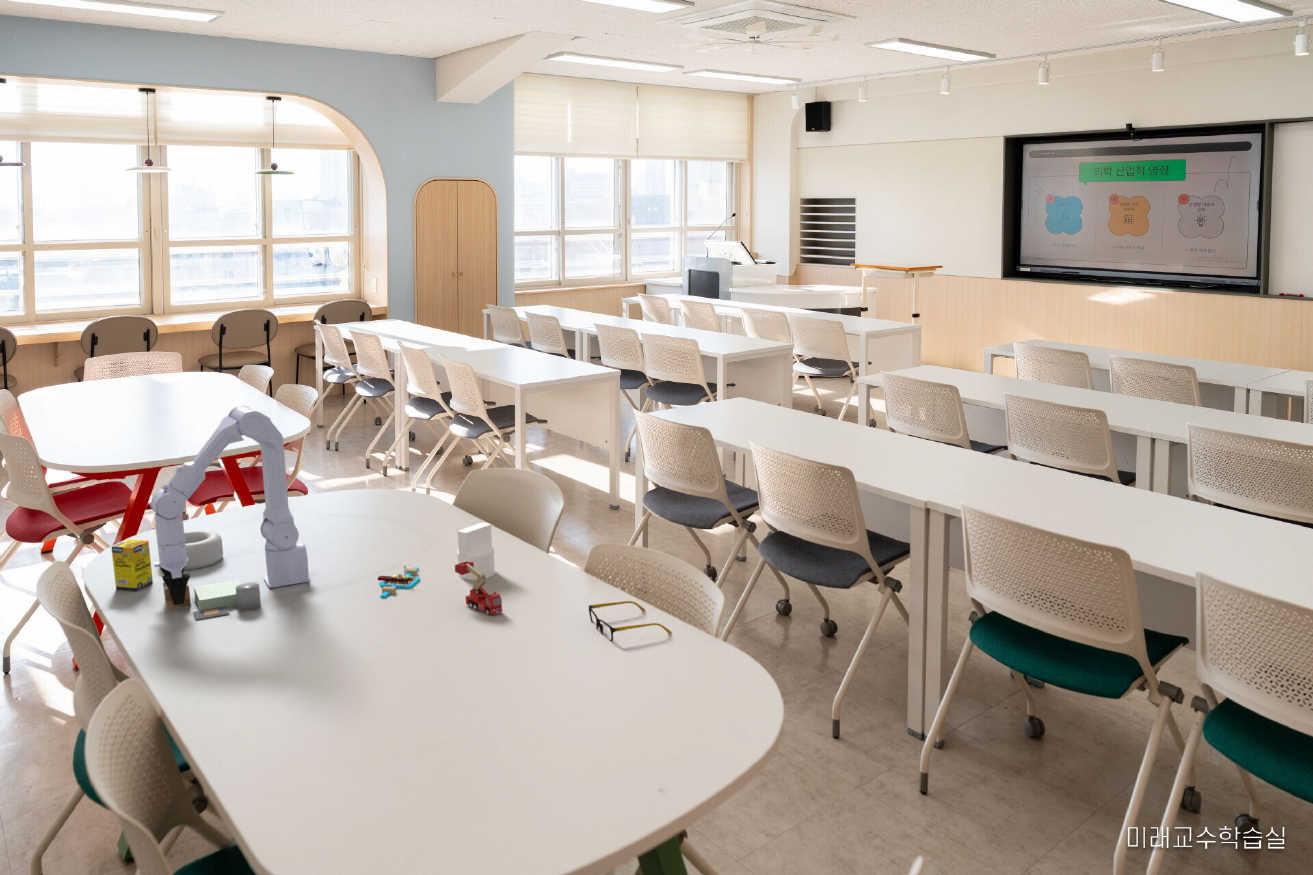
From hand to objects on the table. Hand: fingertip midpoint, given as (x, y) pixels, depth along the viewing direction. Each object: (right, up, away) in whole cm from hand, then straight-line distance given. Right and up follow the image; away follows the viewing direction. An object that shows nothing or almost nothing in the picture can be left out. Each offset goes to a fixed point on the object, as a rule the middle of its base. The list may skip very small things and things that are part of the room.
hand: (177, 598), depth 239 cm
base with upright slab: (+65, +3, +20) cm, 68 cm away
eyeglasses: (+104, -5, -13) cm, 105 cm away
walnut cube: (0, -2, 0) cm, 2 cm away
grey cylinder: (+17, -2, -1) cm, 17 cm away
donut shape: (-10, +5, +30) cm, 32 cm away
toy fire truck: (+70, -2, -2) cm, 70 cm away
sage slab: (+9, -1, +3) cm, 9 cm away
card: (+10, -3, -5) cm, 12 cm away
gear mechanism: (+47, +1, +14) cm, 49 cm away
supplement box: (-16, +1, +12) cm, 20 cm away
